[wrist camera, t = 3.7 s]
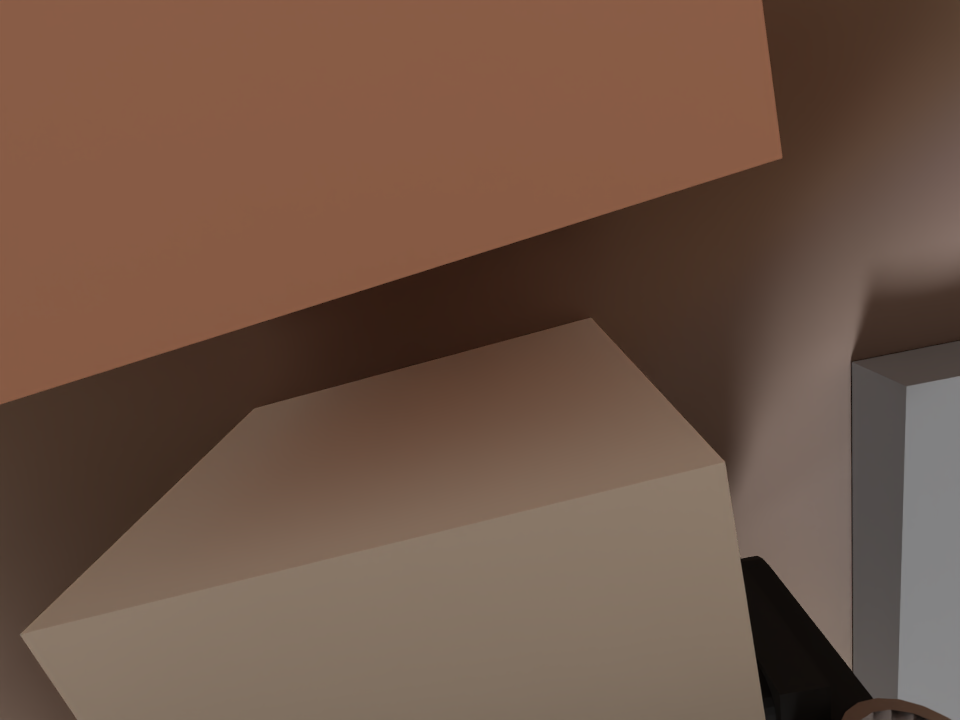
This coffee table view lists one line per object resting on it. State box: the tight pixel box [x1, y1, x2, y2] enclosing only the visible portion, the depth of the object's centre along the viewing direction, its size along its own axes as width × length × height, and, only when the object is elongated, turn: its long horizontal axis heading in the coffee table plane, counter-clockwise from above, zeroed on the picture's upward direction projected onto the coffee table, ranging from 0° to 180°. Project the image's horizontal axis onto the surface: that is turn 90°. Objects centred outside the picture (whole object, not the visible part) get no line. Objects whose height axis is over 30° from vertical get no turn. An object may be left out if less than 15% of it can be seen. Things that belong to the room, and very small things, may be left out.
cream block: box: [20, 318, 766, 720], centre depth 8 cm, size 9×6×5 cm, turn 16°
